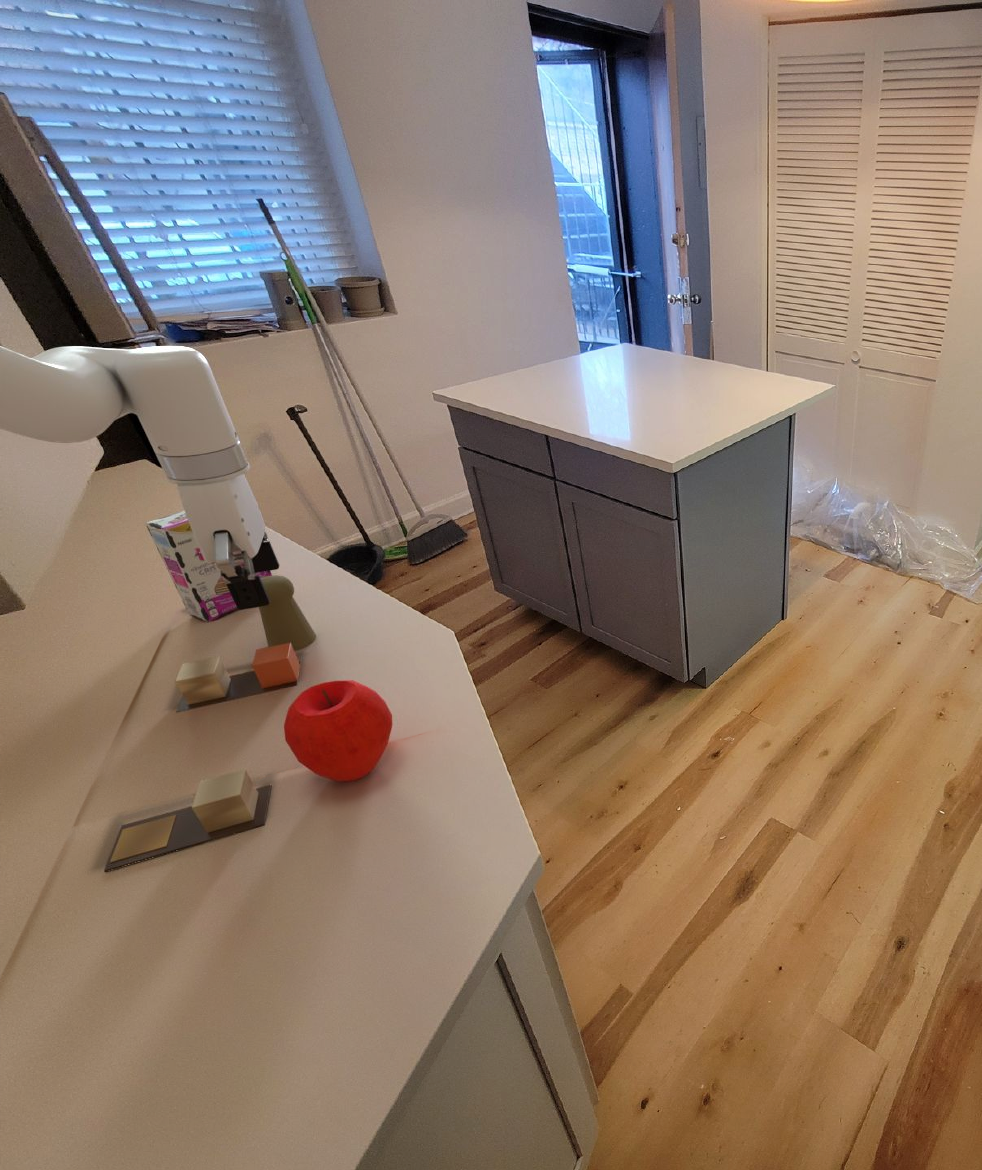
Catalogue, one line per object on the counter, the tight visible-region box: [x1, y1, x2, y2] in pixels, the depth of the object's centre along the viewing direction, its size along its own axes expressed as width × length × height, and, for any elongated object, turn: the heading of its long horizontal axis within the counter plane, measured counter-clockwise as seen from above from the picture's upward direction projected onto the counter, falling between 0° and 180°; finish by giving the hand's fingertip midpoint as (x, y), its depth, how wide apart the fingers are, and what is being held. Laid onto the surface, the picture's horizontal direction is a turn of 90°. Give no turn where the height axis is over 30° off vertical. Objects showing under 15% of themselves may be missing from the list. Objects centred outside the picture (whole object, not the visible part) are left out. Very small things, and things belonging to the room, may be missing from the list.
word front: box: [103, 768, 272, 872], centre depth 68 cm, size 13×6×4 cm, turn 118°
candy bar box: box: [144, 510, 273, 623], centre depth 100 cm, size 11×5×16 cm, turn 159°
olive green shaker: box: [258, 574, 317, 652], centre depth 94 cm, size 6×6×11 cm
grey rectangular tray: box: [174, 656, 302, 713], centre depth 87 cm, size 13×6×4 cm, turn 118°
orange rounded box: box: [251, 643, 301, 688], centre depth 88 cm, size 4×4×4 cm
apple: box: [283, 679, 393, 782], centre depth 73 cm, size 10×10×12 cm
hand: (260, 587), depth 82 cm, fingers open, 9 cm apart
